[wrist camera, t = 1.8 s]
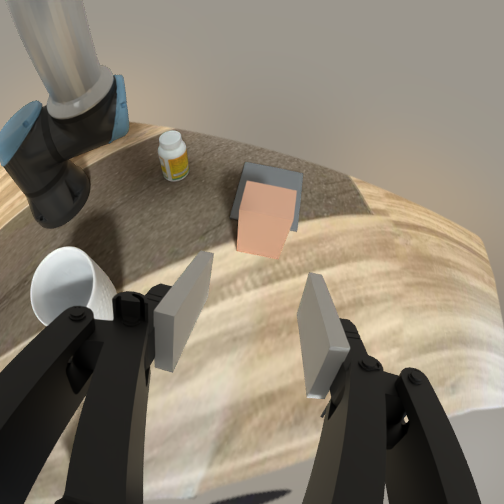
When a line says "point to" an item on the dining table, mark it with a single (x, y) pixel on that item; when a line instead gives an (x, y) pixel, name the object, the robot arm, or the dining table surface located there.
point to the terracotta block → (265, 219)
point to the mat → (270, 178)
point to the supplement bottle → (173, 156)
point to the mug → (70, 285)
